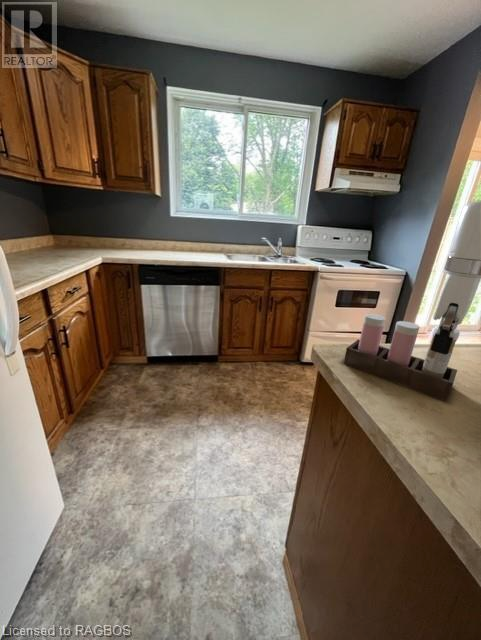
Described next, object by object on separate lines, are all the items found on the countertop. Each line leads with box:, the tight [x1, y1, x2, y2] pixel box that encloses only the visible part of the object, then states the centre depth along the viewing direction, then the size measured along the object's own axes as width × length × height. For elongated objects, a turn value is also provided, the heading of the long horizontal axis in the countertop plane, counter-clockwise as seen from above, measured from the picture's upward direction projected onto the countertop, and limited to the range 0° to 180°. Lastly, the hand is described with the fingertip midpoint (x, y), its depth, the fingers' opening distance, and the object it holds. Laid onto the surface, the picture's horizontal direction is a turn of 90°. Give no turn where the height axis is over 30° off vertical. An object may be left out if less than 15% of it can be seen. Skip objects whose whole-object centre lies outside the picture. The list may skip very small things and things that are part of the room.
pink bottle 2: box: [387, 320, 420, 367], centre depth 67 cm, size 5×5×13 cm
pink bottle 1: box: [358, 313, 387, 356], centre depth 71 cm, size 5×5×13 cm
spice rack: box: [343, 338, 458, 402], centre depth 68 cm, size 23×8×5 cm, turn 47°
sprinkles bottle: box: [422, 325, 461, 378], centre depth 62 cm, size 5×5×14 cm
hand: (441, 347), depth 61 cm, fingers closed on sprinkles bottle, 4 cm apart
